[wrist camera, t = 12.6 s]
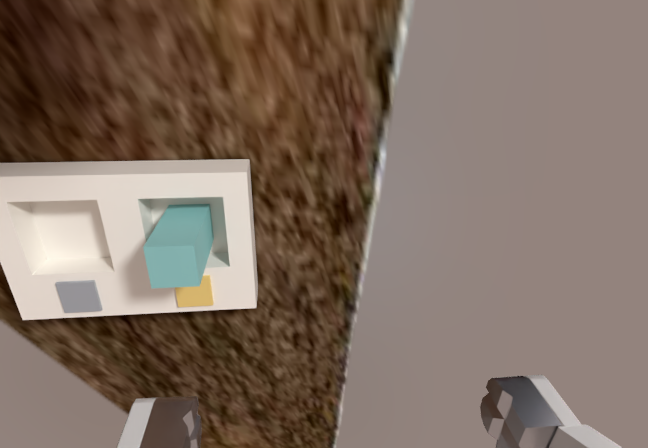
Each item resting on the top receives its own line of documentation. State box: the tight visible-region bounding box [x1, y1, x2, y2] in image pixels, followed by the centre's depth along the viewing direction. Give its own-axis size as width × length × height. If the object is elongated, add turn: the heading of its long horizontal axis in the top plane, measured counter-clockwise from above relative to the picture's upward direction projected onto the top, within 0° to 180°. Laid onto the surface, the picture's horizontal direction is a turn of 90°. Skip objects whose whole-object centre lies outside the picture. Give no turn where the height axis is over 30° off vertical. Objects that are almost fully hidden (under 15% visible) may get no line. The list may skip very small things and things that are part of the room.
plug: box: [143, 204, 214, 288], centre depth 32 cm, size 3×3×8 cm
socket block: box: [0, 159, 258, 320], centre depth 35 cm, size 13×20×4 cm, turn 89°
